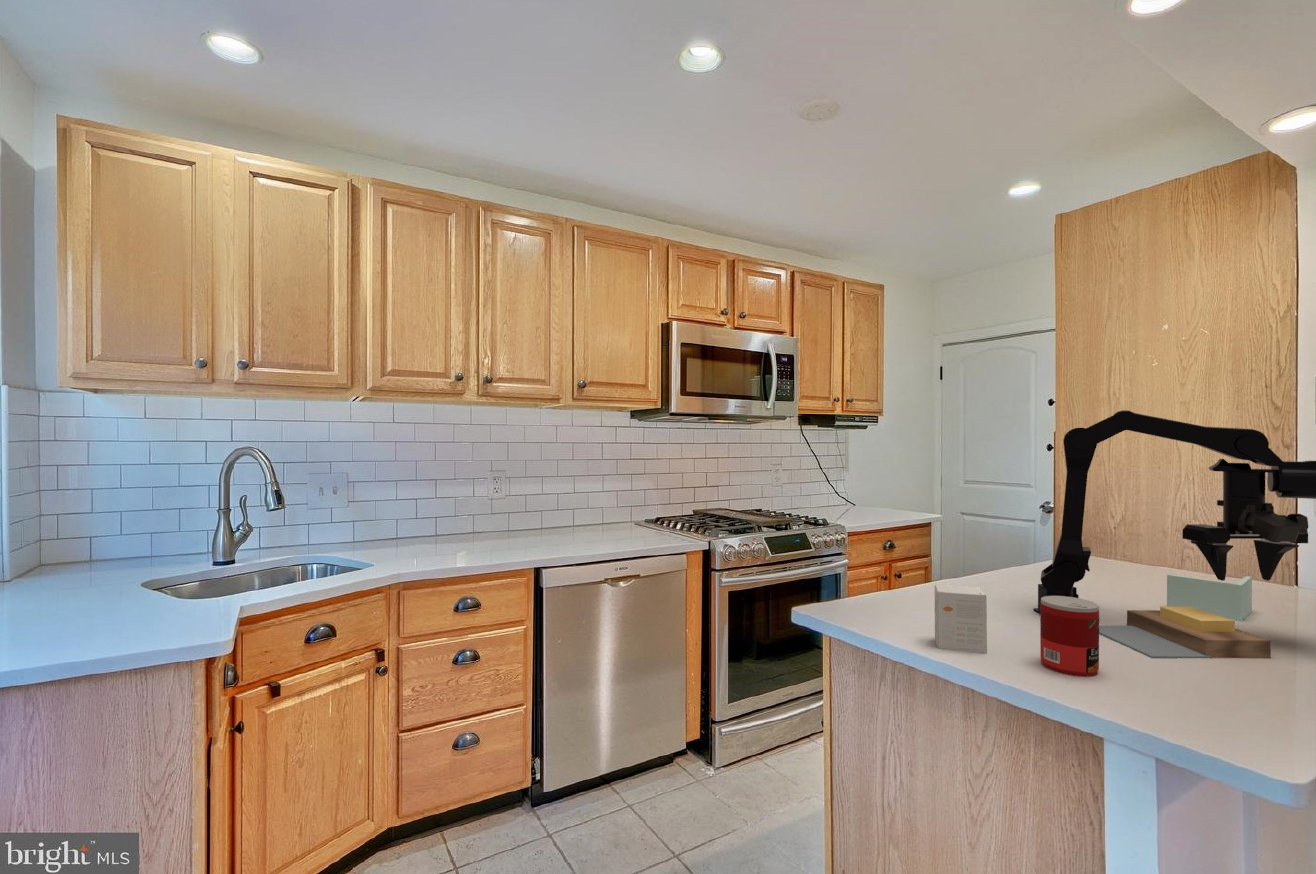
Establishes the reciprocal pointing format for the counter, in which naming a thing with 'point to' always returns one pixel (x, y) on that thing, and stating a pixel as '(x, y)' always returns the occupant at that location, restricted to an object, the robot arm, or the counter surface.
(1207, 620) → the yellow flat block
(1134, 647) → the mat
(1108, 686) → the counter surface
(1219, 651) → the brown flat block
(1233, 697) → the counter surface
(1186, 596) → the right angle wall
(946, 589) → the small box
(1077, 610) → the canned food
